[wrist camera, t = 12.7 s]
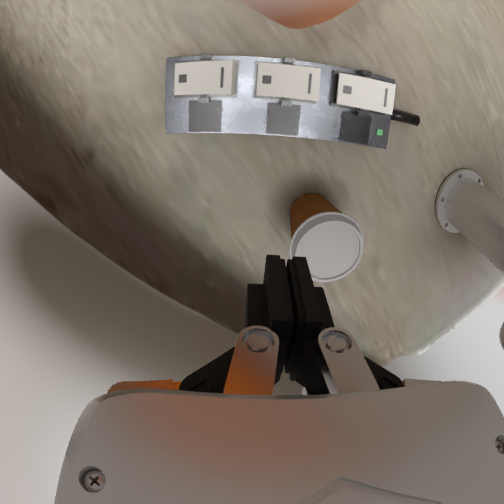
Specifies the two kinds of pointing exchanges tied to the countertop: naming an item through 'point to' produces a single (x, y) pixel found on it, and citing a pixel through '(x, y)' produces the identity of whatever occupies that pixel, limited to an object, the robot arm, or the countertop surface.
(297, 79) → the rocker
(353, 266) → the disposable coffee cup
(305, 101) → the power strip
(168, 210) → the countertop surface
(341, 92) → the rocker
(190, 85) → the rocker
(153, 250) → the countertop surface
